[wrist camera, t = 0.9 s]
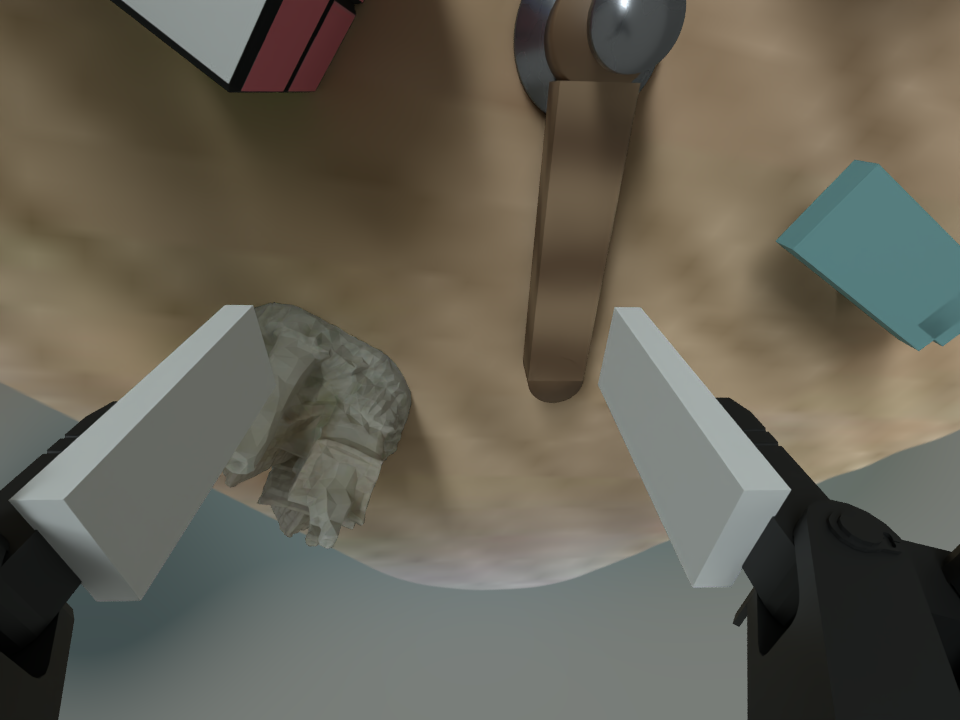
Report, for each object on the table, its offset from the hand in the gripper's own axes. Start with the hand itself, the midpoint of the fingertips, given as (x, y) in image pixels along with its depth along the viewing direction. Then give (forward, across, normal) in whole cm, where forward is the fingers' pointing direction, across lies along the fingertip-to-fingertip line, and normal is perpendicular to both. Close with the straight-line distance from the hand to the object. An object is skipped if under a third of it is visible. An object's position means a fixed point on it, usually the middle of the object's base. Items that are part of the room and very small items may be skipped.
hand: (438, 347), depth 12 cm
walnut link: (+17, +7, -1) cm, 18 cm away
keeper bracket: (+18, +26, -2) cm, 32 cm away
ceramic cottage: (+18, -12, -16) cm, 27 cm away
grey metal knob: (+18, +8, +9) cm, 21 cm away
